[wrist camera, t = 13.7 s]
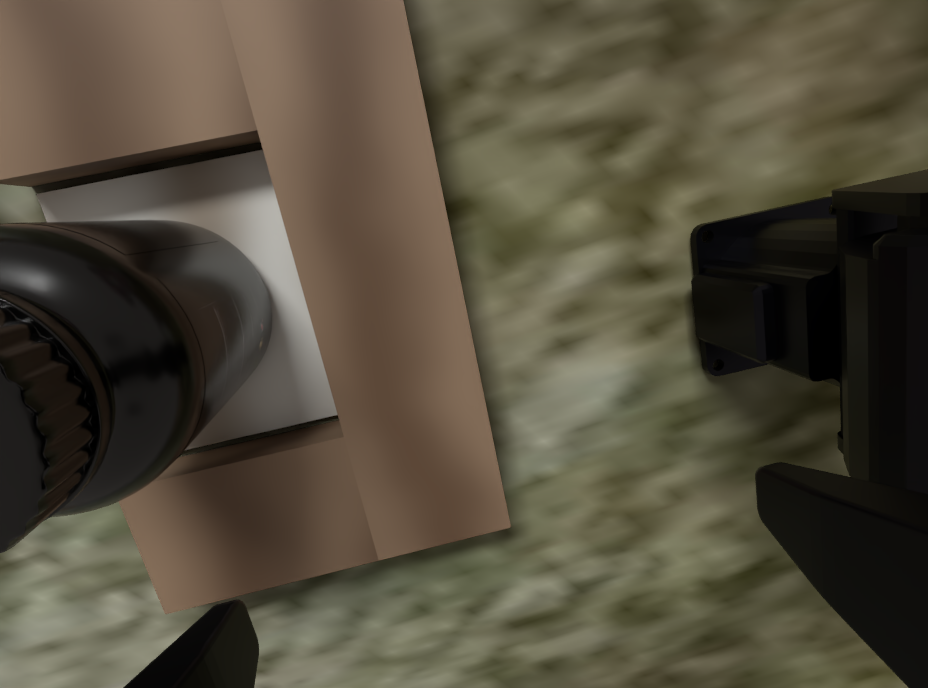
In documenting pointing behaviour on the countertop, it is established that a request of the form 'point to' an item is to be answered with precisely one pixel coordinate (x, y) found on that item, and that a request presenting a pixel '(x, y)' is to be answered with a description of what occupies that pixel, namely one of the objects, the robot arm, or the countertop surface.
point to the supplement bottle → (114, 357)
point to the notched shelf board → (276, 269)
